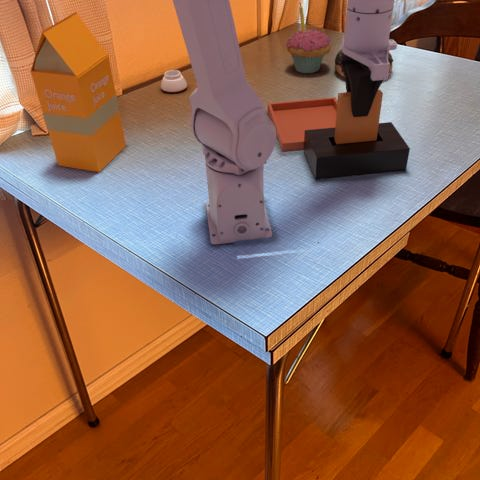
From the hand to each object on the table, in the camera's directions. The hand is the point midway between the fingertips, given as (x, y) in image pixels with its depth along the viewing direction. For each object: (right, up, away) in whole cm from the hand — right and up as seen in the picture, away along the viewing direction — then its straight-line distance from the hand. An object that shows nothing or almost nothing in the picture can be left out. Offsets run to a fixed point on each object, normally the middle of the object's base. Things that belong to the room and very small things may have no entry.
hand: (358, 112), depth 80 cm
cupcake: (-3, +21, +33) cm, 39 cm away
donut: (+7, +19, +31) cm, 37 cm away
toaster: (0, -6, +6) cm, 8 cm away
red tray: (-5, +3, +14) cm, 15 cm away
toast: (0, -3, +3) cm, 4 cm away
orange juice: (-41, -3, +11) cm, 42 cm away
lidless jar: (-29, +15, +29) cm, 44 cm away
